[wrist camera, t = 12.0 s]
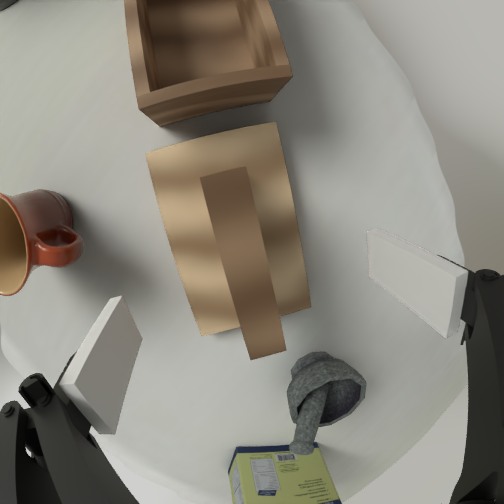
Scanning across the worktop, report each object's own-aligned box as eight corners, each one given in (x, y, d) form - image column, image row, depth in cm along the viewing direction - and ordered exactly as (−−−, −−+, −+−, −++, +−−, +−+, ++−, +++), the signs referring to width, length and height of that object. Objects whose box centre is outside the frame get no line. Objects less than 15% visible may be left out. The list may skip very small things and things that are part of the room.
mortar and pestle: (333, 327, 32) (379, 390, 21) (352, 369, 35) (391, 426, 24) (255, 370, 33) (274, 445, 21) (285, 406, 36) (307, 470, 24)
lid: (150, 154, 24) (103, 142, 12) (270, 125, 25) (314, 92, 13) (202, 324, 30) (200, 405, 18) (304, 297, 31) (351, 363, 19)
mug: (24, 251, 24) (-28, 282, 14) (27, 178, 22) (-32, 187, 12) (105, 272, 26) (63, 318, 17) (113, 191, 24) (63, 204, 15)
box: (138, -3, 18) (122, -41, 10) (233, -23, 18) (240, -64, 11) (159, 126, 23) (138, 109, 16) (270, 101, 24) (292, 76, 16)
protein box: (301, 466, 43) (320, 523, 28) (227, 470, 40) (235, 534, 25) (318, 441, 40) (345, 505, 26) (234, 445, 38) (246, 522, 23)
